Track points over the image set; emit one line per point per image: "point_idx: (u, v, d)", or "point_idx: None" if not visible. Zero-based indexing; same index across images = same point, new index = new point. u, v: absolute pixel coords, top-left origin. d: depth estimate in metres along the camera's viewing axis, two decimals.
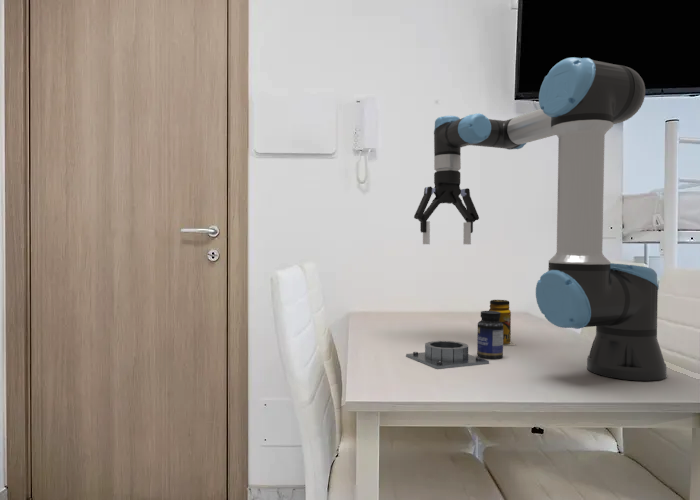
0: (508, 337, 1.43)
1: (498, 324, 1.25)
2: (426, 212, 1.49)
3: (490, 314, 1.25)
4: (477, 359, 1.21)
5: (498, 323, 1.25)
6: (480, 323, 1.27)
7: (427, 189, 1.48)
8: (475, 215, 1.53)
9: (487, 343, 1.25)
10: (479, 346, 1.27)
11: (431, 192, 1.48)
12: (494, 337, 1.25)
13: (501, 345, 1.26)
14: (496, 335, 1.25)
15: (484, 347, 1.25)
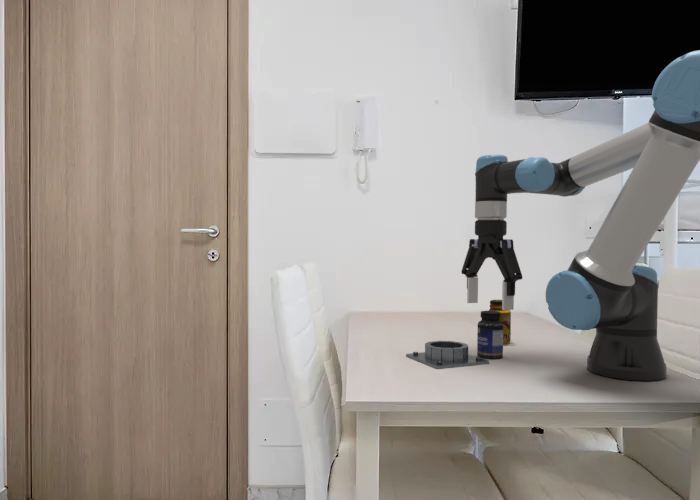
0: (508, 337, 1.43)
1: (498, 324, 1.25)
2: None
3: (490, 314, 1.25)
4: (477, 359, 1.21)
5: (498, 323, 1.25)
6: (480, 323, 1.27)
7: None
8: (510, 273, 1.19)
9: (487, 343, 1.25)
10: (479, 346, 1.27)
11: (471, 245, 1.32)
12: (494, 337, 1.25)
13: (501, 345, 1.26)
14: (496, 335, 1.25)
15: (484, 347, 1.25)
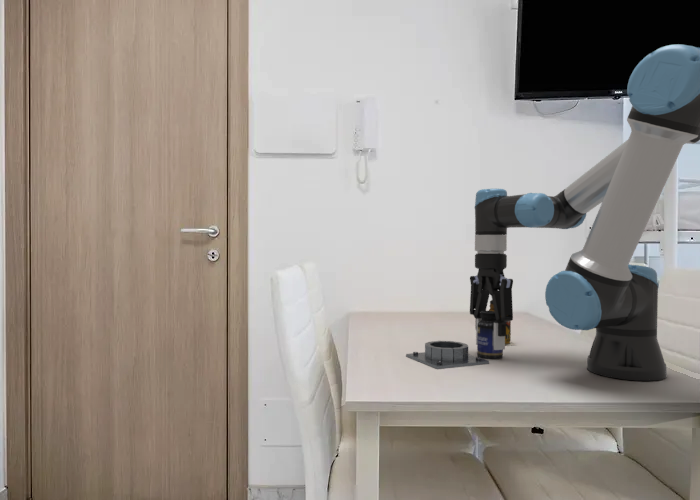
0: (508, 337, 1.43)
1: None
2: None
3: (490, 314, 1.25)
4: (477, 359, 1.21)
5: None
6: (480, 323, 1.27)
7: None
8: (502, 314, 1.22)
9: (487, 343, 1.25)
10: (479, 346, 1.27)
11: (473, 282, 1.32)
12: None
13: None
14: None
15: (484, 346, 1.25)
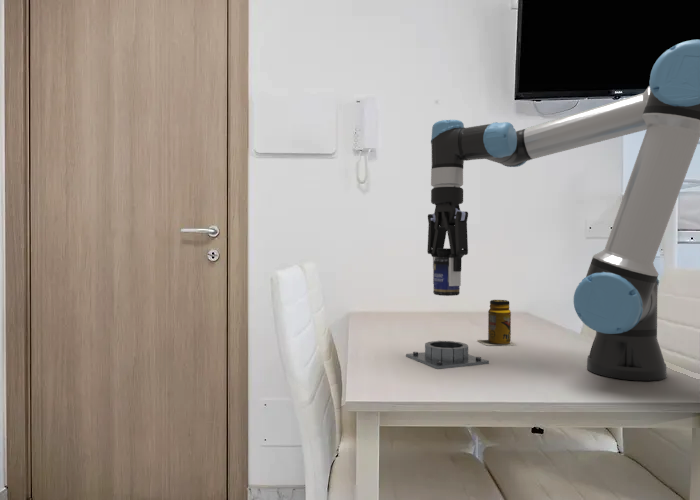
0: (508, 337, 1.43)
1: None
2: None
3: (446, 249, 1.21)
4: (477, 359, 1.21)
5: None
6: (436, 259, 1.23)
7: None
8: (456, 248, 1.18)
9: (443, 279, 1.21)
10: (434, 283, 1.23)
11: (430, 219, 1.28)
12: None
13: None
14: None
15: (440, 283, 1.21)
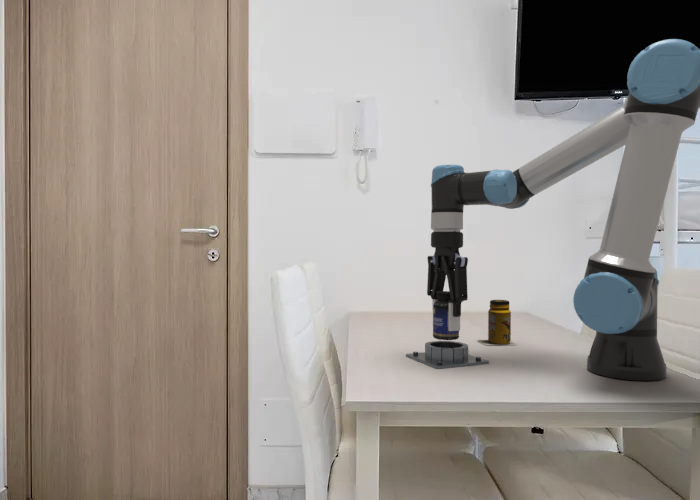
0: (508, 337, 1.43)
1: None
2: None
3: (445, 294, 1.21)
4: (477, 359, 1.21)
5: None
6: (435, 303, 1.23)
7: None
8: (456, 294, 1.18)
9: (442, 324, 1.21)
10: (434, 327, 1.23)
11: (430, 262, 1.28)
12: None
13: None
14: None
15: (439, 327, 1.22)
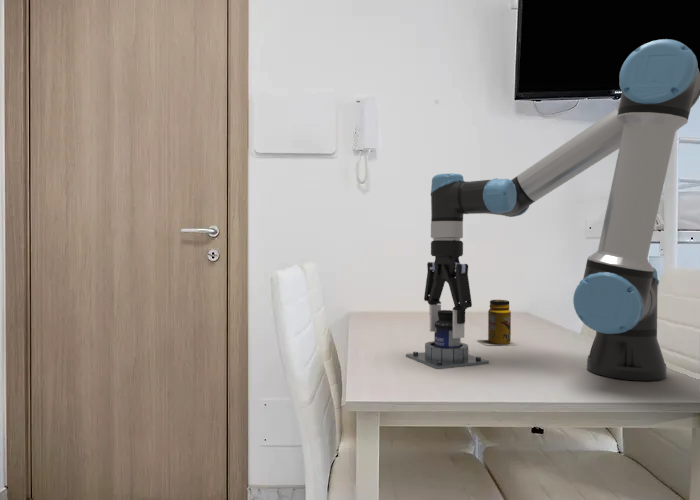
0: (508, 337, 1.43)
1: None
2: None
3: (446, 313, 1.21)
4: (477, 359, 1.21)
5: None
6: (437, 323, 1.23)
7: None
8: (460, 301, 1.17)
9: (444, 344, 1.21)
10: None
11: (429, 268, 1.28)
12: (451, 337, 1.20)
13: (458, 346, 1.21)
14: (452, 335, 1.20)
15: None
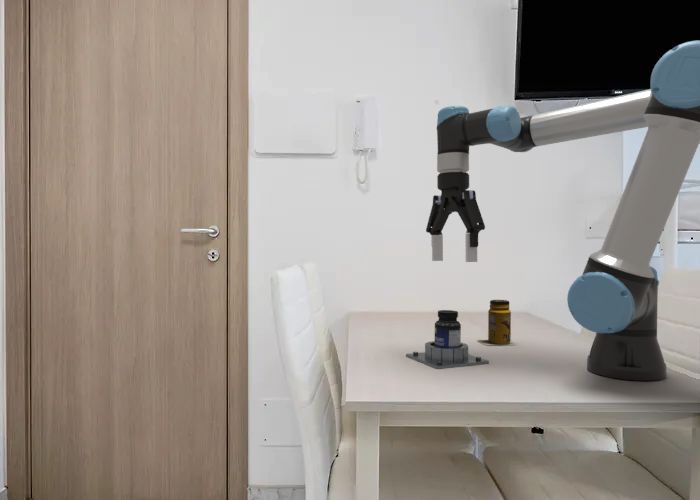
0: (508, 337, 1.43)
1: (455, 324, 1.21)
2: None
3: (447, 313, 1.21)
4: (477, 359, 1.21)
5: (455, 323, 1.21)
6: (437, 323, 1.23)
7: None
8: (472, 224, 1.17)
9: (444, 344, 1.21)
10: None
11: (435, 202, 1.30)
12: (451, 337, 1.20)
13: (458, 346, 1.21)
14: (452, 335, 1.20)
15: None
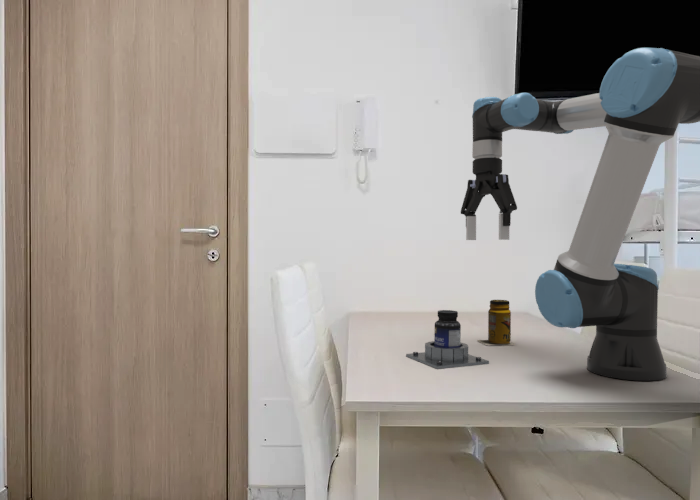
0: (508, 337, 1.43)
1: (454, 324, 1.21)
2: None
3: (446, 313, 1.21)
4: (477, 359, 1.21)
5: (455, 323, 1.21)
6: (437, 323, 1.23)
7: None
8: (505, 204, 1.28)
9: (444, 344, 1.21)
10: None
11: (469, 185, 1.41)
12: (451, 337, 1.20)
13: (458, 346, 1.21)
14: (452, 335, 1.20)
15: None
